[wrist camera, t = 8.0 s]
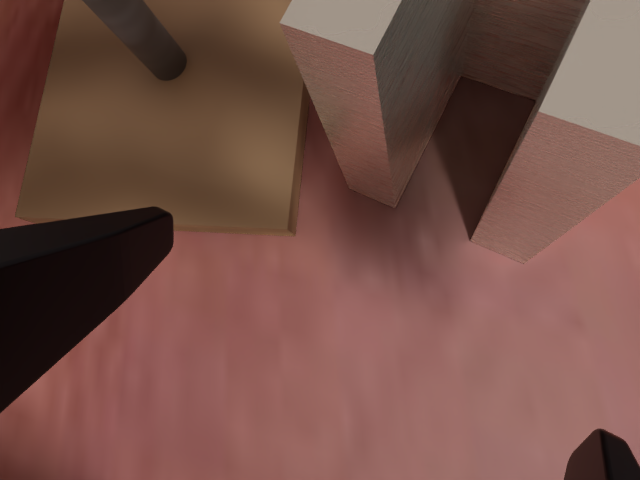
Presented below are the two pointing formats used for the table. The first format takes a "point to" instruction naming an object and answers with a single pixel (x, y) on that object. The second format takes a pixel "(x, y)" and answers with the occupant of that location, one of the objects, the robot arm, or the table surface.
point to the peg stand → (171, 116)
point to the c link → (489, 68)
